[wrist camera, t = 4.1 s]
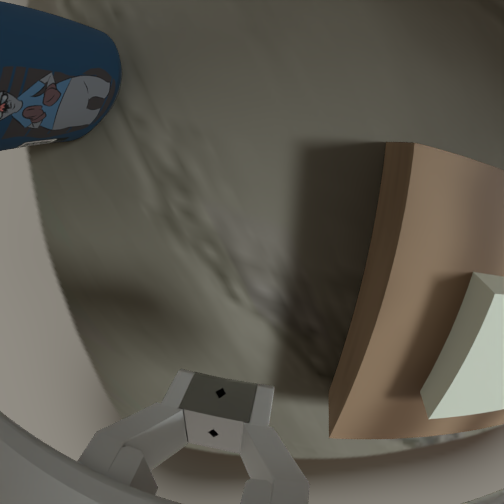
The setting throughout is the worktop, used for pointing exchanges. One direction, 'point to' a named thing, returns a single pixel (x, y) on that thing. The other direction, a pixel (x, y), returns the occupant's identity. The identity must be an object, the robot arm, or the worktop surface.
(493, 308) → the pale white flat block
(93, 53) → the soda can
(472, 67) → the worktop surface
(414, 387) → the deck
